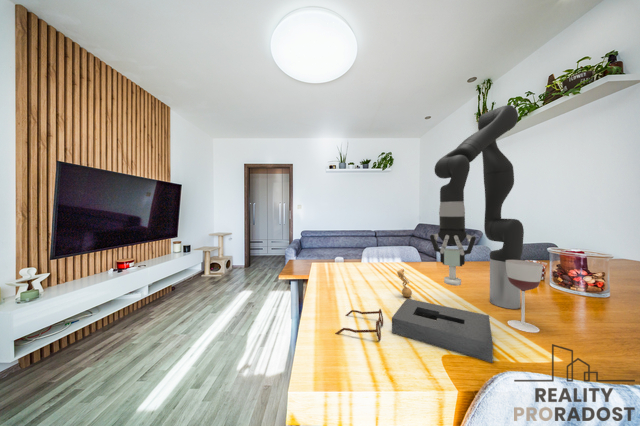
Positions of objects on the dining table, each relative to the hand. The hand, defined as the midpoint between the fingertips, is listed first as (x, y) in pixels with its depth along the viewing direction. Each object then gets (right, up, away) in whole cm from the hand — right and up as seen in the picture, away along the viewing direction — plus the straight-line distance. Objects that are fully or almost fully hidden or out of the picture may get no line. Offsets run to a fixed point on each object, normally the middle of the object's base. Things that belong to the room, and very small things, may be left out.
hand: (452, 264), depth 77 cm
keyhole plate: (-9, -18, -9) cm, 22 cm away
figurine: (-10, -18, +18) cm, 27 cm away
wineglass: (+18, -18, -6) cm, 27 cm away
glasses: (-33, -19, -7) cm, 38 cm away
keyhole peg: (0, -6, 0) cm, 6 cm away
